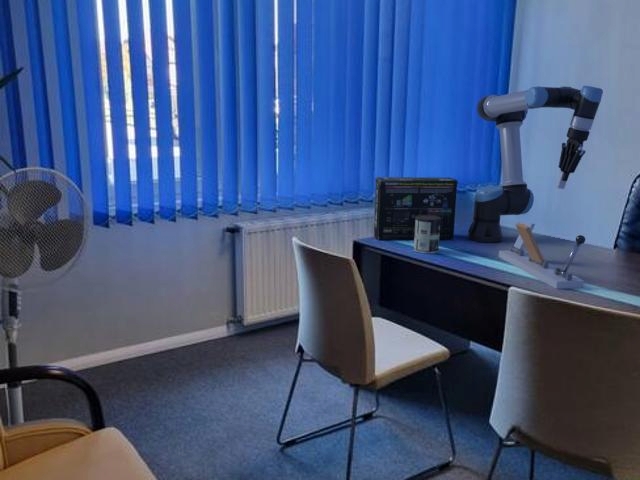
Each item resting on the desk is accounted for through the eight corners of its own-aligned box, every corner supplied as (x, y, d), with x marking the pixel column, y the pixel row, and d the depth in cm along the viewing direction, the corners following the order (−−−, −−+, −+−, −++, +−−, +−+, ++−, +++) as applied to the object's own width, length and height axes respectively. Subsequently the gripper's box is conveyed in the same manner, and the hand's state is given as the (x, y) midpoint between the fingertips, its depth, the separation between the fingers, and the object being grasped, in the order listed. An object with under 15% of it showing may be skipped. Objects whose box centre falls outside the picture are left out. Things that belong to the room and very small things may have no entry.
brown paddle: (535, 259, 207) (518, 221, 202) (547, 264, 200) (529, 226, 195) (531, 261, 207) (514, 224, 202) (543, 267, 200) (525, 229, 195)
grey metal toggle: (560, 275, 192) (581, 235, 190) (569, 279, 187) (590, 238, 185) (554, 272, 191) (574, 232, 189) (562, 276, 186) (583, 235, 184)
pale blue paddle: (514, 251, 220) (528, 222, 218) (521, 254, 216) (536, 225, 214) (510, 250, 220) (525, 220, 218) (517, 253, 215) (532, 223, 213)
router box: (446, 234, 257) (451, 177, 251) (454, 240, 247) (460, 180, 240) (371, 234, 254) (373, 176, 247) (375, 240, 243) (378, 179, 236)
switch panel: (521, 255, 224) (522, 244, 223) (583, 287, 187) (585, 274, 185) (498, 256, 222) (499, 245, 221) (556, 288, 185) (558, 275, 184)
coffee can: (436, 247, 234) (438, 214, 230) (440, 254, 224) (443, 220, 220) (411, 246, 234) (413, 214, 230) (415, 253, 224) (417, 219, 220)
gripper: (598, 133, 204) (577, 194, 212) (579, 126, 216) (560, 184, 224) (580, 130, 202) (559, 192, 211) (561, 123, 214) (543, 182, 223)
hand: (560, 188), depth 218 cm, fingers closed
